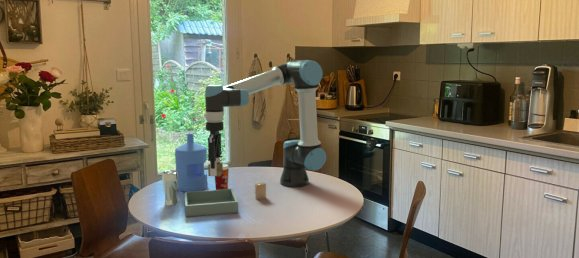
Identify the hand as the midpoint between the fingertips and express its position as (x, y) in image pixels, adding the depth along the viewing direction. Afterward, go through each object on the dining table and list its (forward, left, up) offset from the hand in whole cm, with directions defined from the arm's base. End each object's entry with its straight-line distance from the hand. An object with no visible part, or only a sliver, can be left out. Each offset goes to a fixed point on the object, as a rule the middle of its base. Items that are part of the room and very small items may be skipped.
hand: (215, 173), depth 195 cm
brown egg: (-22, -9, -16) cm, 28 cm away
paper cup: (-5, -22, -16) cm, 28 cm away
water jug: (+9, -34, -16) cm, 39 cm away
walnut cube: (0, 0, 0) cm, 0 cm away
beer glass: (+19, -11, -16) cm, 27 cm away
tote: (+2, -2, -16) cm, 16 cm away
